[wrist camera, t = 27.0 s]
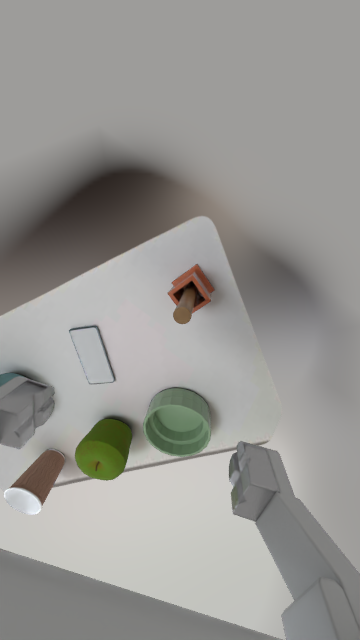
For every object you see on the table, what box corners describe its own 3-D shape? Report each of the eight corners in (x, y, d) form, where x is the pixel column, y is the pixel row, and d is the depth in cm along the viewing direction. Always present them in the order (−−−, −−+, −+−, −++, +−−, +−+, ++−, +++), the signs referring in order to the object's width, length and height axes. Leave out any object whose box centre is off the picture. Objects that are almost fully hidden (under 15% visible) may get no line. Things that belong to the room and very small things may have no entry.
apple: (121, 404, 52) (99, 444, 42) (146, 437, 55) (132, 482, 45) (85, 419, 56) (57, 459, 45) (111, 449, 58) (90, 494, 48)
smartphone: (95, 325, 44) (114, 382, 49) (97, 324, 45) (115, 381, 50) (68, 329, 46) (89, 384, 50) (69, 328, 46) (90, 383, 51)
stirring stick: (200, 287, 39) (194, 318, 22) (191, 293, 39) (180, 327, 23) (194, 279, 38) (184, 303, 22) (185, 285, 39) (169, 313, 22)
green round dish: (222, 420, 50) (223, 442, 44) (173, 442, 54) (169, 464, 49) (186, 376, 47) (183, 394, 41) (138, 402, 51) (129, 421, 46)
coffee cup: (44, 466, 65) (11, 512, 54) (35, 443, 62) (-3, 486, 51) (74, 469, 64) (45, 517, 53) (66, 446, 60) (34, 491, 49)
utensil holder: (214, 289, 39) (216, 302, 30) (189, 306, 41) (184, 322, 32) (196, 263, 38) (193, 268, 29) (172, 282, 40) (161, 292, 31)
